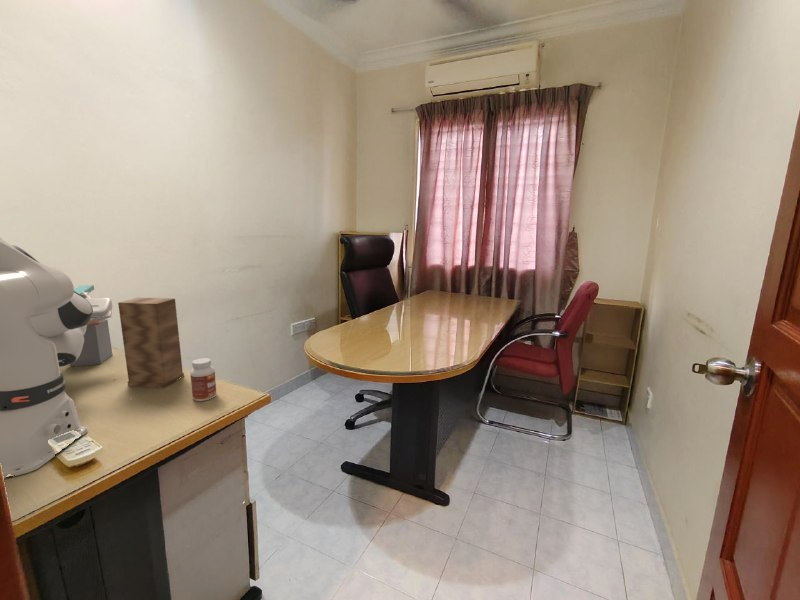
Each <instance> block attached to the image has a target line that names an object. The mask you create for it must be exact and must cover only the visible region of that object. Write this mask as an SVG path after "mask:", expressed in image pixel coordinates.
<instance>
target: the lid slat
mask: <svg viewBox="0 0 800 600" xmlns="http://www.w3.org/2000/svg"><path fill="white" fill-rule="evenodd" d="M94 290H95V285H94V284H91V285H90V284H89V285H87V284H86V285H84V284H83V285H79V286H77V287H75V288H74V291H75V292H76V293H78V294H80V295H81V296H82V294H83V293H82V292H88V293H89V294H90V293H91V292H93V291H94Z"/></svg>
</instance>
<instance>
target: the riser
mask: <svg viewBox="0 0 800 600" xmlns="http://www.w3.org/2000/svg"><path fill="white" fill-rule="evenodd" d="M108 321H109V320H108V319H105V320H103V322H102V323H99V324H95V325H90V326H87V328H86V332H85V334H84V344H83V348H82V351H81V354H80V356H79V358H78V359H77V360H76V361H75V362H73V363H71V364H69V366H70V367H77V366H79V367H81V366H92V365H102V364H103V363H104V362H106V361H108V359H110V358H111V357H113V351H112V341H111V334H110V328H109V322H108Z"/></svg>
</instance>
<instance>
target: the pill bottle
mask: <svg viewBox="0 0 800 600" xmlns="http://www.w3.org/2000/svg"><path fill="white" fill-rule="evenodd" d="M191 363H192V364H191V365H192V369H190V375H189V376H190V384H191V393H192V395H191V396H192V400H194V401H196V402H204V401H209V399H210V400H212V399H214V398H215V397H216V396H217V385H216V384H217V383H216V382H217V381H216V371H215V368H214V366H212V360H211V358H208V357H207V358H206V357H203V358H202V357H201V358H197V359H194V360H192V362H191ZM213 397H214V398H213ZM211 398H212V399H211Z"/></svg>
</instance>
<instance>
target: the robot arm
mask: <svg viewBox="0 0 800 600" xmlns="http://www.w3.org/2000/svg"><path fill="white" fill-rule="evenodd" d="M74 289H75V288H74V284H73V281H72V279H71V278H70V277H69V276H68V275H67V274H66V273H65V272H63V271H61V270H59V269H56V268H53V267H50V266H48V265H45V264H42V263H40V262H39V261H38V260H37V259H36V258H34V257H33V256H32V255H31V254H29V253H28V252H27V251H25V250H24V249H22V248H20V247H19V246H17V245H15V244H14V245H11V244H10V243H8V242H7V241H6V240H4V239H3V238H2V237H0V463H1V465H2V472H3V476H4V479H7V478H6V476H7V475H8V474H11V475H15V476H14V477H17V476H20V475H24V474H27V473H31V472H33V471H36V470H38V469H40V468H41V467H42V466H44V465H45V464H46V463H48V462H49V461H50V460H52V459H53V458H54V457H56V456H55V452H54V450H53V449H52V447H51V446H50V445H49V444H48V440H49V439H52V438H54V437H56V436H59V435H61V434H64V433H66V432H69V431H72V430H74V431H77V432H79V434H81V435H83V436H85V435H86V434H87V433H88V427H86V426H84V425H81V424H82V423H81V420H80V418H79V414H78V411H77V407H76V404H75V401H74V400H73V399H72V398H71V397H70V396H69V395H68V394H67V393H66V391H65V390H66V389H67V388H66V379H65V378H64V374H63V373H62V372H61V369H60V368H61V367H65V366H68V365H69V366H70V364H71V363H73V362H75V361H76V360H77V359H78V358H79V356H80V354H81V351H82V348H83V344H84V334H85V332H86V328H87V324H88V322H89V321H98V320H100V321H102V320H106V319H107V320H108V319H110V318H112V314H113V313H112V310H113V302H112V300H111V298H109V297H93V298H92V297H91V296H90V293H88V292H82V293H83V294H82V296H81V295H80V294H78V293H76V292H75V291H74Z"/></svg>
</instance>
